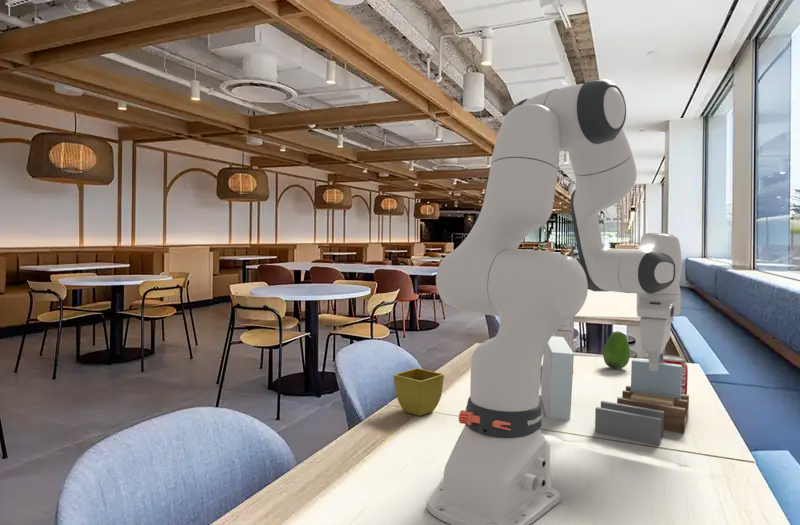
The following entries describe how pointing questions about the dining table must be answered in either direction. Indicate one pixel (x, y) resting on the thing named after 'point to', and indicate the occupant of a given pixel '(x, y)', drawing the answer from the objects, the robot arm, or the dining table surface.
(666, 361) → the soda can
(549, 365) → the skincare box
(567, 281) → the robot arm
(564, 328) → the cracker box
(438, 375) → the flower pot
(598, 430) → the holder
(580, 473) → the dining table surface
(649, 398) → the offcut upper
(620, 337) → the avocado
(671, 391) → the sheet
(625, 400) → the rack
